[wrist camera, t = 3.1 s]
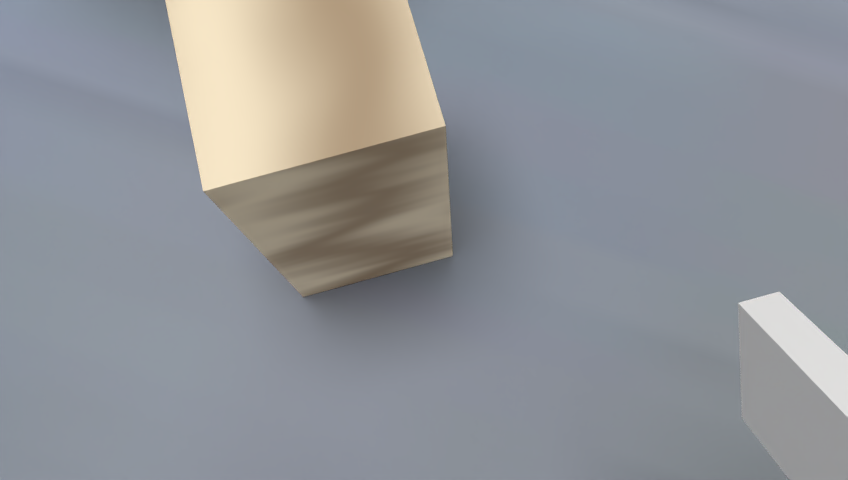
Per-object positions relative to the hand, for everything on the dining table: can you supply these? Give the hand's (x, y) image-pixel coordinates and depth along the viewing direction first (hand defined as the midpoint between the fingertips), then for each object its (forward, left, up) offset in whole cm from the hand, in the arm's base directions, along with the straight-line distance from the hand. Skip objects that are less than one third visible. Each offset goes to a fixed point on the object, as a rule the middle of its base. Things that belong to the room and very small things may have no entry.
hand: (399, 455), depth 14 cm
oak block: (0, +10, -15) cm, 18 cm away
